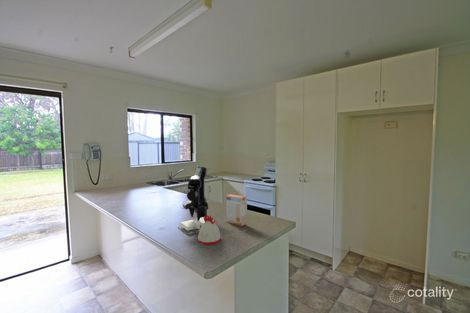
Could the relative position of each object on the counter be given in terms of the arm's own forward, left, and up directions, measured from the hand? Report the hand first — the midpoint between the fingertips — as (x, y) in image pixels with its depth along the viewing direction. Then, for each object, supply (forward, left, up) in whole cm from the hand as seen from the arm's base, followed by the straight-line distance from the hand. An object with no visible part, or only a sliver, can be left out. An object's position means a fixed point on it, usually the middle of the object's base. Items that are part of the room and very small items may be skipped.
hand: (195, 218), depth 150 cm
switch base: (-2, 0, -7) cm, 7 cm away
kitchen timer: (+1, +21, -8) cm, 22 cm away
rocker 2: (-7, 0, -3) cm, 8 cm away
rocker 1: (+4, 0, -3) cm, 5 cm away
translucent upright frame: (-29, +9, -7) cm, 31 cm away
